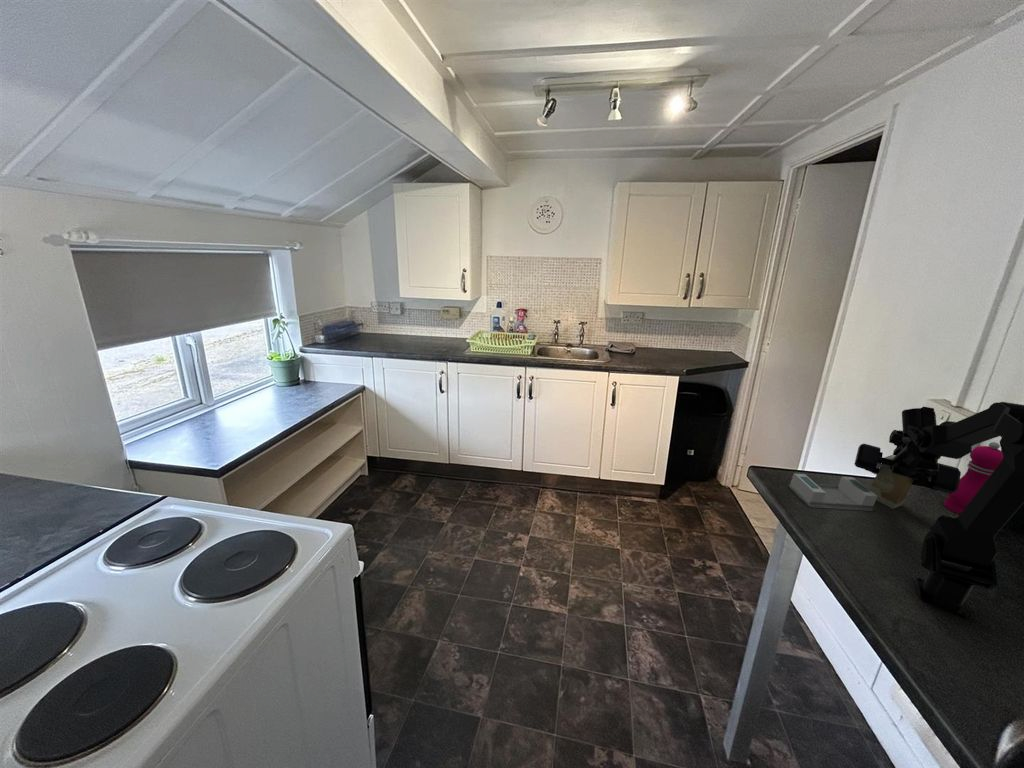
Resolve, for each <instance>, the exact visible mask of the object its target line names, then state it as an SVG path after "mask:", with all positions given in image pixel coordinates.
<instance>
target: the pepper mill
mask: <svg viewBox="0 0 1024 768" xmlns="http://www.w3.org/2000/svg"><path fill="white" fill-rule="evenodd" d="M999 448H1001V446H1000V443H998V442H996V441H992V442H990V443H988V445H980V446H977V447H974V448H973V449H972V452H971V453H969V457H970V460H969V461H968V463H967V468H968V469H967V471H966V472H965V474H964V475H963V476H961V477H960V481H959V488H958V490H957V491H956V492H954V493H952V494H949V493H947V495H948V496H947V497H946V498H945V500H944V502H943V505H944V507H945V508H946V509H948V510H949V511H951V512H953V513H955V514H958V515H960V514H961V513H962V511H963V510H964V509H965V508H966V506H967V505H968V504H969V502H970V501H971V500H972V499H973V497H974V496H975V495H976V493H977V492H978V491H979V490H980V488H981V487H982V486H983V484H984V483H985V482H986V481H987V479H988V478H989V477H990V475H991V474H992V473H993V472H994V470H995V469H996V468H997V466H998V465H999V464H1000V462H1001V461H1002V460H1003V454H1002V450H1001V449H999Z"/></svg>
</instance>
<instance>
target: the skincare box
mask: <svg viewBox="0 0 1024 768" xmlns="http://www.w3.org/2000/svg"><path fill="white" fill-rule="evenodd" d="M894 457H895V455H893V454H890V455H888V456H885V457H884V458H887V459H891V460H892V459H893V458H894ZM914 480H915V479H912V478H909V477H905V476H902V475H898V474H895V473H892V470H890V469H886V468H883V467H880V468H879V472H878V474H875V477H874V479H873V481H872V483H871V485H870V488H869V490H870V491H872V492H873V493H874V494H876V495H877V496H878V497H877V499H876V502H879V503H881V504H883V505H884V506H887V507H888V508H890V509H893V510H894V509H896V508H899V507H901V506H902V505H903V503H904V501H905V499H906V497H907V495H908V493H909V491H910V489H911V487H912V486H913V485H912V484H913V482H914Z"/></svg>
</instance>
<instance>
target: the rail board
mask: <svg viewBox="0 0 1024 768" xmlns="http://www.w3.org/2000/svg"><path fill="white" fill-rule="evenodd" d="M816 484H817V485H818V486H819V487H820V488H821V489H822V490H823V491H825V492H826V494H825V496H824V499H823V502H822V503H821V502H810V503H808V502H807V501H806V500H805V499H804V498H803V497H802V496H801V495H800V494H799V493H798V492H797V491H796V490H795V489H794V488H793V487H792V486H791V481H790V482H789V484H788V487H789V488H790V490H792V491H793V493H794V494H795V495H797V497H799V498H800V500H802V501H803V502H804V504H806V506H808V508H819V509H831V510H832V509H835V510H846V511H847V510H851V511H864V512H866V511H867V512H873V510H874V508H875V506H867V505H859V504H856V503H855V502H854V501H853V500H852V499H850V498H849V497H848V496H847V495H846V494H844V493H843V492H842V491H841V490H840V489H838V487H839V486H838V485H839V484H838V485H837V484H827V483H826V484H824V483H816Z"/></svg>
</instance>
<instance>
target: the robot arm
mask: <svg viewBox="0 0 1024 768" xmlns="http://www.w3.org/2000/svg"><path fill="white" fill-rule="evenodd" d="M901 422H902V423H901V424H902V425H901V426H902V430H900V429H899V430H897V429H893V430H892V431H891V433H890V434H889V438H888V439H889V440H888V441H889V443H890V444H893V445H894V446H896V448H894V450H893V453H892V455H895V457H894V458H893V459H892V460H891V459H887V458H885V457H883V452H882V450H881V447H879V446H875V445H871V444H867V443H861V444H860V445H858V448H857V453H856V457H855V461H854V466H855V467H856V468H860V469H863V470H865V471H867V472H870V473H872V474H873V475H877V474H878V472H879V468H880V467H883V468H886V469H890V470H892V473H895V474H898V475H902V476H905V477H909V478H912V479H915V480H914V482H913V484H912V486H915V487H919V488H925V489H928V490H932V491H933V490H934V491H936V492H941V493H945V494H948V493H949V494H952V493H954V492H956V491H957V490H958V488H959V481H960V478H961V475H962V474H961V473H962V472H961V470H960V469H959V468H958V467H955V466H952V465H948V464H944V463H940V462H939V460H940V459H941V457H944V458H949V459H954V460H960V459H963V458H964V457H965V456H967V455H970V453H971V452H972V450H973V449H972V447H973V446H976V445H978V444H981V443H983V442H986V441H990V440H992V439H995V438H998V437H1001V438H1000V440H999V445H1000V451H1002V454H1003V460H1002V461H1001V462H1000V464H999V465H998V466H997V468H996V469H995V470H994V472H993V473H992V474H991V475H990V477H989V478H988V479H987V481H986V482H985V483H984V484H983V486H982V487H981V488H980V490H979V491H978V492H977V493H976V495H975V496H974V497H973V499H972V500H971V501H970V502H969V504H968V505H967V506H966V508H965V509H964V510H963V511H962V513H961V514H958V516H957V517H952V516H948V515H940V516H939V517H937V519H936V520H935V522H934V523H933V525H932V526H931V527H929V532H928V533H926V534H925V536H924V539H923V543H922V547H921V551H920V552H921V553H920V560H921V563H920V565H921V566H922V568H925V569H926V570H928V573H927V574H926V577H925V578H924V579H923V578H920V577H917V578H915V583H916V587H917V591H918V596H919V599H920V600H921V601H924V602H927V603H929V604H931V605H933V606H935V607H939V608H941V609H943V610H945V611H948V612H951V613H954V614H956V615H958V616H961V617H963V618H968V616H969V614H968V611H967V609H966V606H965V605H966V604H965V601H966V600H967V599H968V597H969V595H970V593H971V591H972V590H973V588H974V587H975V586H976V587H979V588H983V589H986V590H989V591H991V590H992V589H994V588H996V587H997V586H998V579H997V570H996V563H995V562H996V561H995V557H996V556H997V554H998V553H999V550H998V546H997V543H996V540H995V537H996V536H997V534H998V533H999V532H1000V531H1001V530H1002V529H1003V527H1004V526H1005V525H1006V524H1007V523H1008V521H1010V519H1011V518H1012V517H1013V516H1014V514H1015V513H1016V512H1017V511H1018V510H1019V509H1020V508H1021V506H1022V505H1023V504H1024V404H1019V403H1011V402H1006V401H1000V402H998V401H997V402H993V403H991V404H990V405H989V407H988V408H986V409H984V410H981V411H980V412H977V413H975V414H971V415H970V416H967V417H965V418H962V419H961V420H958V421H956V422H953V423H952V424H951V423H950V424H937V416H936V412H935V408H933V407H928V406H922V407H915V408H914V407H913V408H909V409H903V410H902V411H901Z"/></svg>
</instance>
